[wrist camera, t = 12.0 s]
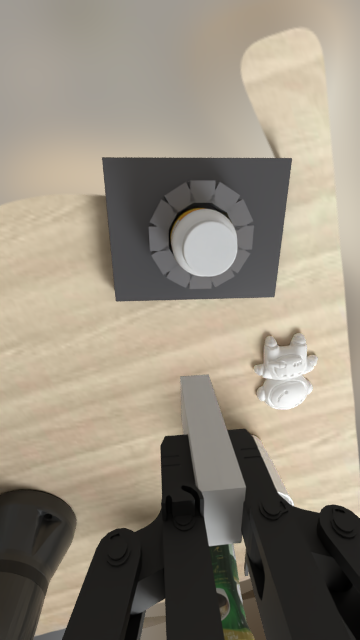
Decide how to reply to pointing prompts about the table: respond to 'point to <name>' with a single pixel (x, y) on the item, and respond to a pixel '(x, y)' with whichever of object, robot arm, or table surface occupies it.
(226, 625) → the coffee jar
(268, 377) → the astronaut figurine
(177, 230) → the supplement bottle
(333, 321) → the table surface
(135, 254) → the square plate with collar
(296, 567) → the robot arm
